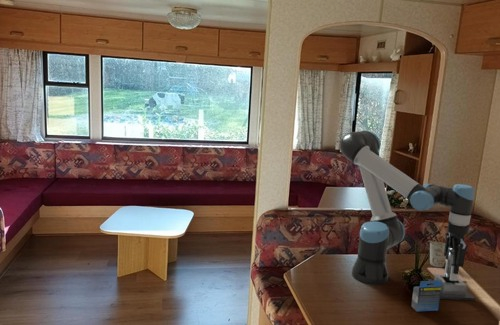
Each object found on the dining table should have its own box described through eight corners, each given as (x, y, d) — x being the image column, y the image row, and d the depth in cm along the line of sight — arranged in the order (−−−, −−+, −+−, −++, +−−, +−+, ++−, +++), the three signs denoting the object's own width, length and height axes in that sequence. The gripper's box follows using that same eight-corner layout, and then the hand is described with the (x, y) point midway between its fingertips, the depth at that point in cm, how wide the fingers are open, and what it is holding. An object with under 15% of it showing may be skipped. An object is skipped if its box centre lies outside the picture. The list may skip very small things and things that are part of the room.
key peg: (458, 288, 166) (463, 251, 163) (446, 288, 166) (451, 250, 163) (452, 283, 171) (458, 246, 168) (441, 282, 171) (446, 246, 168)
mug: (425, 265, 194) (428, 245, 192) (431, 256, 204) (433, 237, 202) (444, 270, 189) (447, 249, 187) (449, 261, 199) (452, 242, 198)
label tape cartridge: (432, 305, 157) (436, 275, 154) (438, 311, 153) (442, 280, 151) (410, 306, 155) (414, 276, 153) (416, 312, 151) (420, 281, 149)
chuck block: (439, 298, 162) (441, 287, 161) (424, 282, 176) (426, 271, 175) (474, 300, 162) (476, 288, 161) (457, 283, 176) (458, 272, 175)
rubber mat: (438, 280, 178) (439, 279, 178) (427, 268, 190) (427, 267, 190) (466, 282, 178) (466, 280, 178) (453, 270, 190) (453, 268, 190)
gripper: (479, 231, 155) (470, 288, 160) (457, 217, 172) (449, 268, 176) (459, 230, 155) (451, 287, 160) (439, 216, 172) (432, 268, 176)
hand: (450, 277), depth 168 cm, fingers closed on key peg, 4 cm apart
